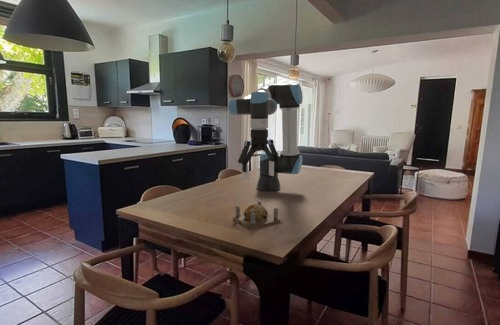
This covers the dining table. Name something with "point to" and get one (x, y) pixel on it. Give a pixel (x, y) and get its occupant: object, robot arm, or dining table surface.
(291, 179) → the dining table surface
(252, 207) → the bread roll
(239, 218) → the trivet
